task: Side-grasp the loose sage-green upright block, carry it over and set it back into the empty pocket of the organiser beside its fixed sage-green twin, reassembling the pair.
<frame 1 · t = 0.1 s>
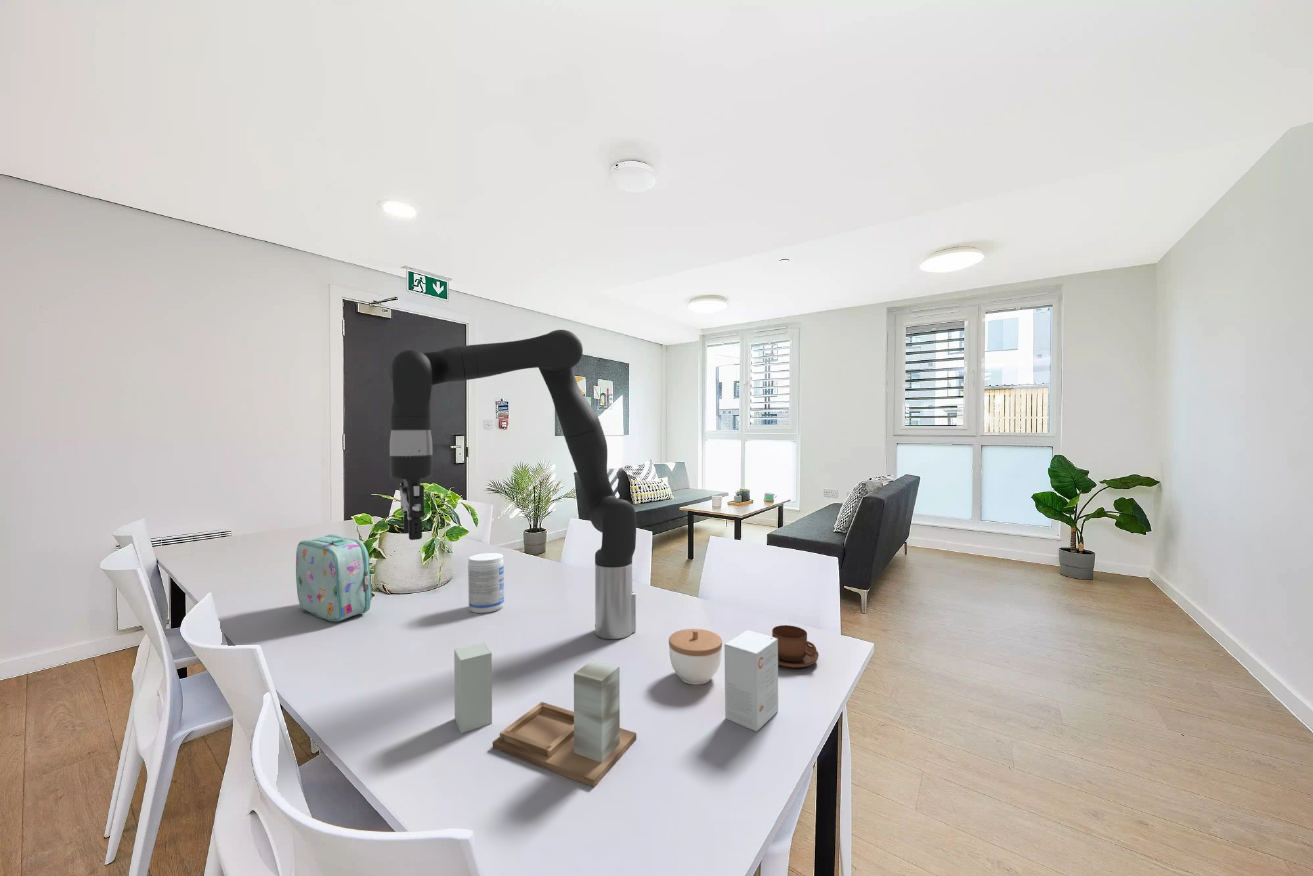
hand: (412, 535, 96), 29 cm above the table, tool pointing down, fingers open, 8 cm apart
cup and saucer: (789, 660, 107), on the table
sage block: (473, 720, 84), on the table
supplement tub: (486, 608, 139), on the table
organiser: (568, 744, 77), on the table
small box: (751, 716, 85), on the table
lidded jar: (695, 678, 99), on the table
lunch box: (334, 613, 136), on the table
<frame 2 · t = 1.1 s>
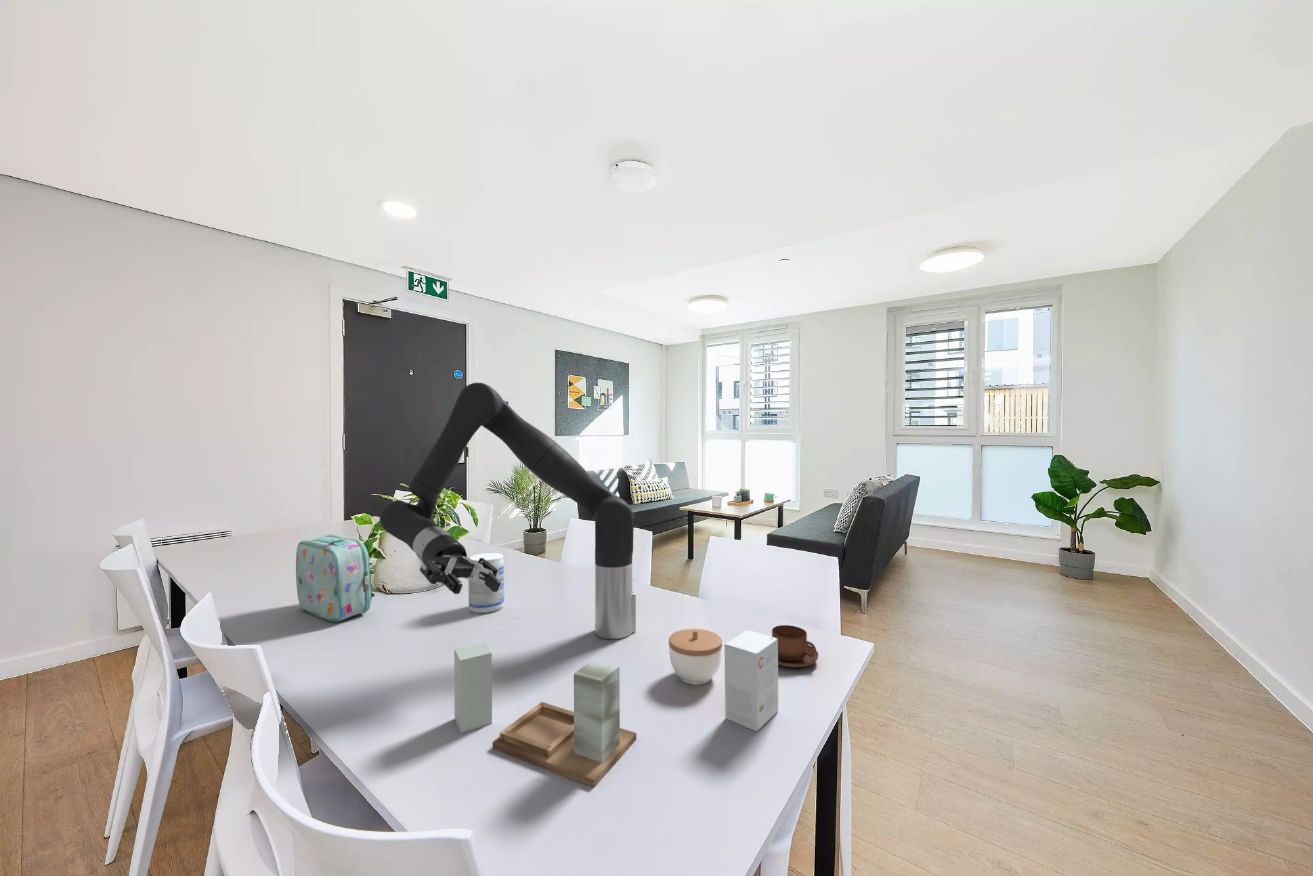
hand: (479, 588, 93), 20 cm above the table, tool tilted 70°, fingers open, 8 cm apart
nothing on the table moved.
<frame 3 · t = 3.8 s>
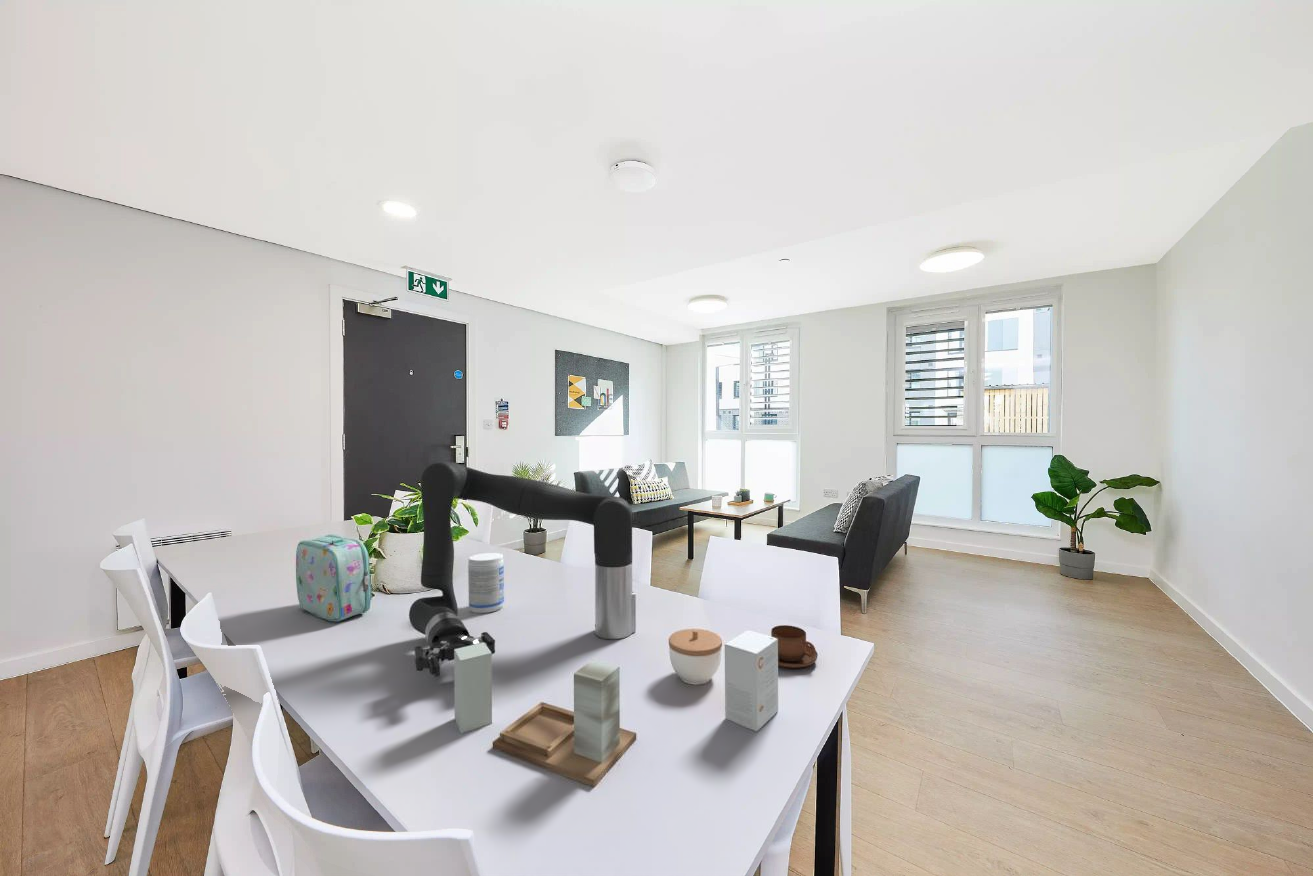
hand: (462, 665, 90), 7 cm above the table, tool horizontal, fingers open, 8 cm apart
nothing on the table moved.
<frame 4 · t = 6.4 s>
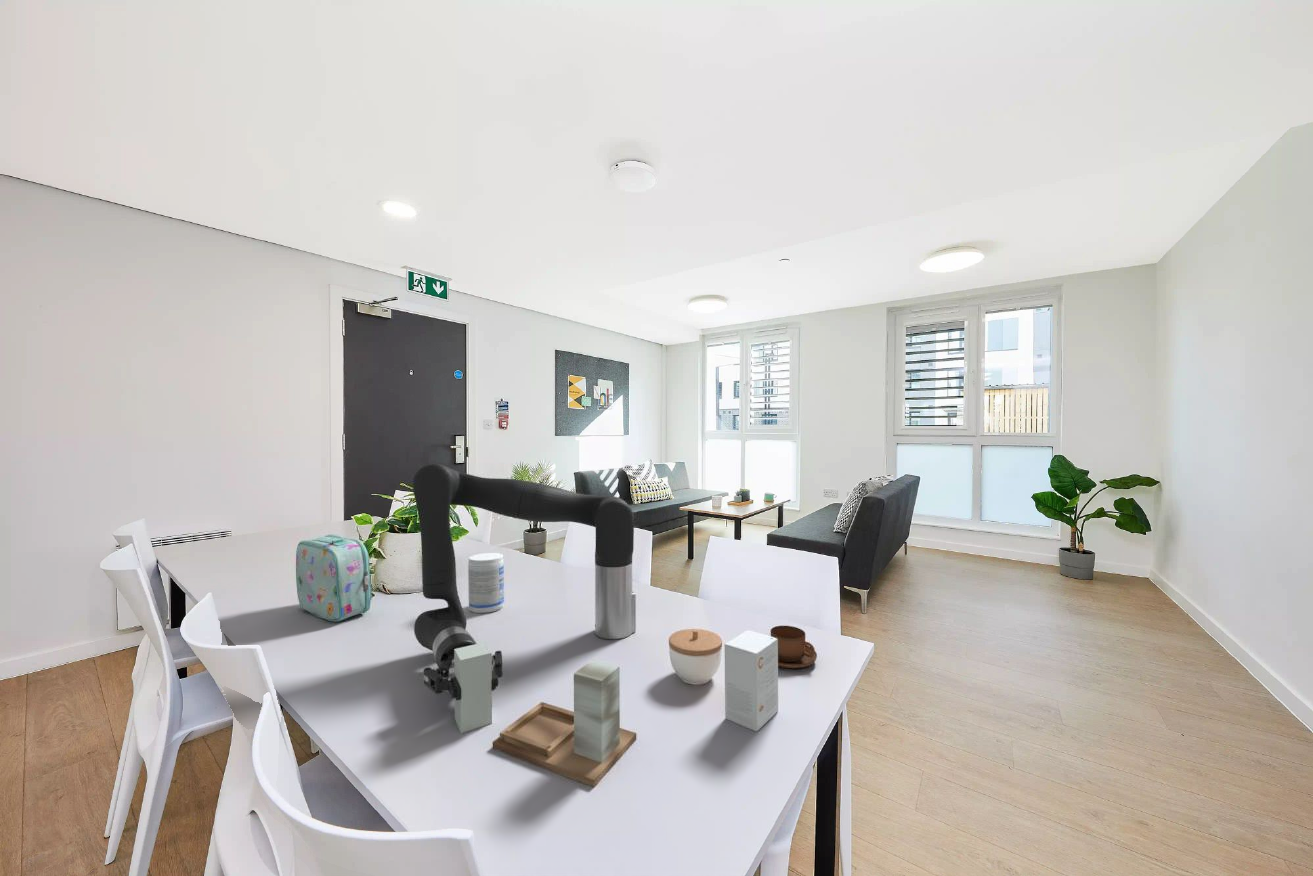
hand: (476, 689, 82), 7 cm above the table, tool horizontal, fingers closed on sage block, 5 cm apart
sage block: (473, 720, 84), on the table, touching gripper
everything else where it was.
when the fingers open (9 cm above the table, at t = 11.6 s): sage block drops 1 cm, resting on organiser.
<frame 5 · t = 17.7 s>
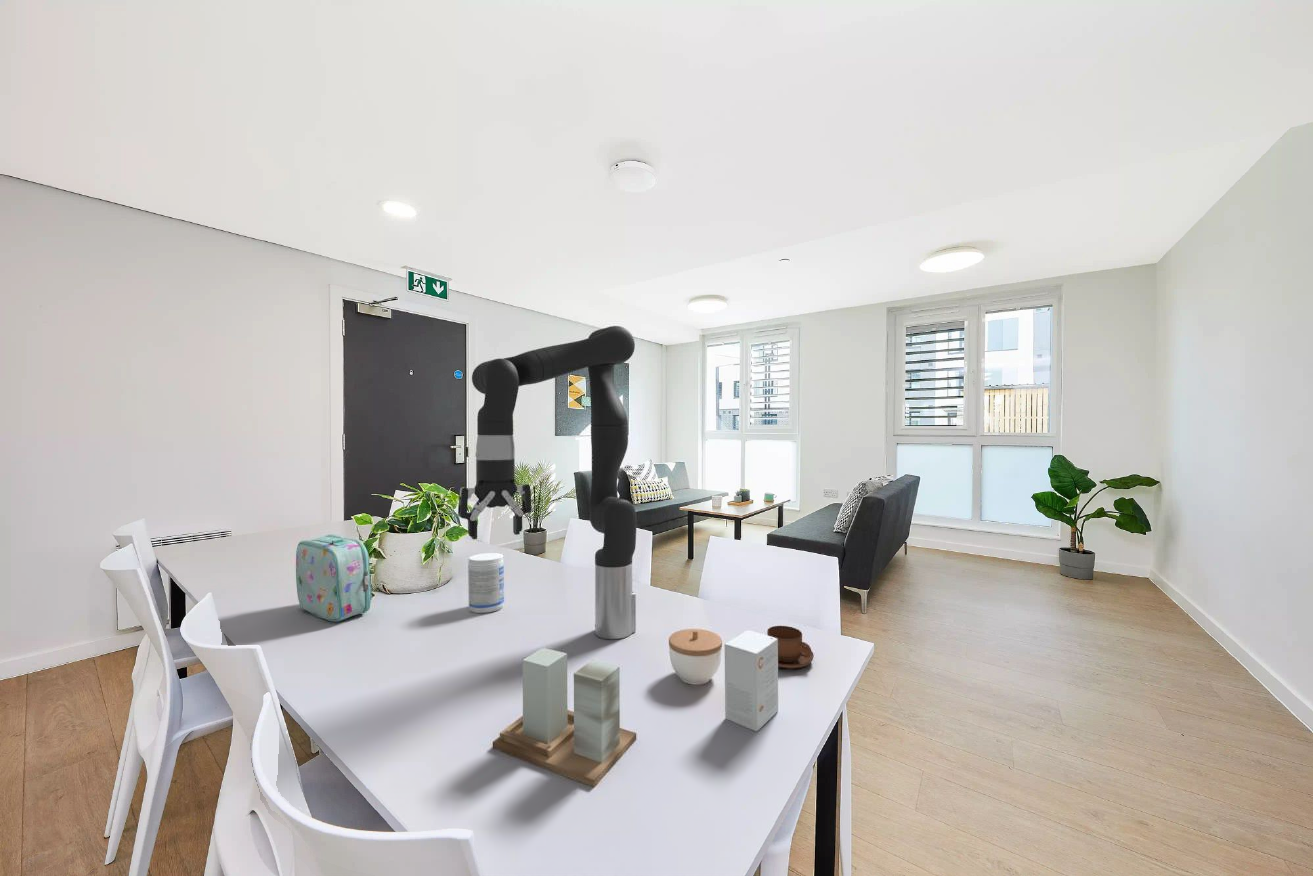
hand: (495, 536, 101), 28 cm above the table, tool pointing down, fingers open, 8 cm apart
sage block: (545, 730, 79), point 1 cm above the table, touching organiser
at the end: sage block 0.0 cm from the target spot on the organiser, point 1.0 cm above the organiser's base; sage block tilted 0°; the gripper is holding nothing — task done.
